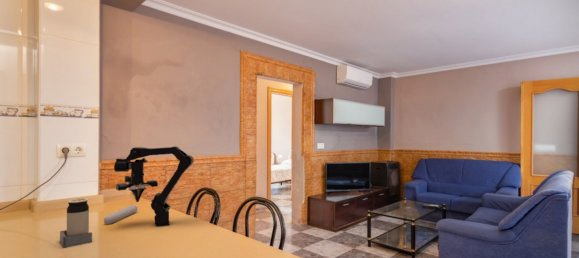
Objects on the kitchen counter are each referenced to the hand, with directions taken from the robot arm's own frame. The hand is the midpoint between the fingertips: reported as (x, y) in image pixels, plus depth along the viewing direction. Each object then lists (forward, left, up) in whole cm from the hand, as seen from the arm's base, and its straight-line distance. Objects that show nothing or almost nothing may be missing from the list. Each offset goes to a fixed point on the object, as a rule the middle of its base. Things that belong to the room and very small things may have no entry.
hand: (137, 201), depth 157 cm
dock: (+23, +16, -12) cm, 30 cm away
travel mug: (+22, +16, -12) cm, 30 cm away
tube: (+10, -19, -12) cm, 25 cm away
